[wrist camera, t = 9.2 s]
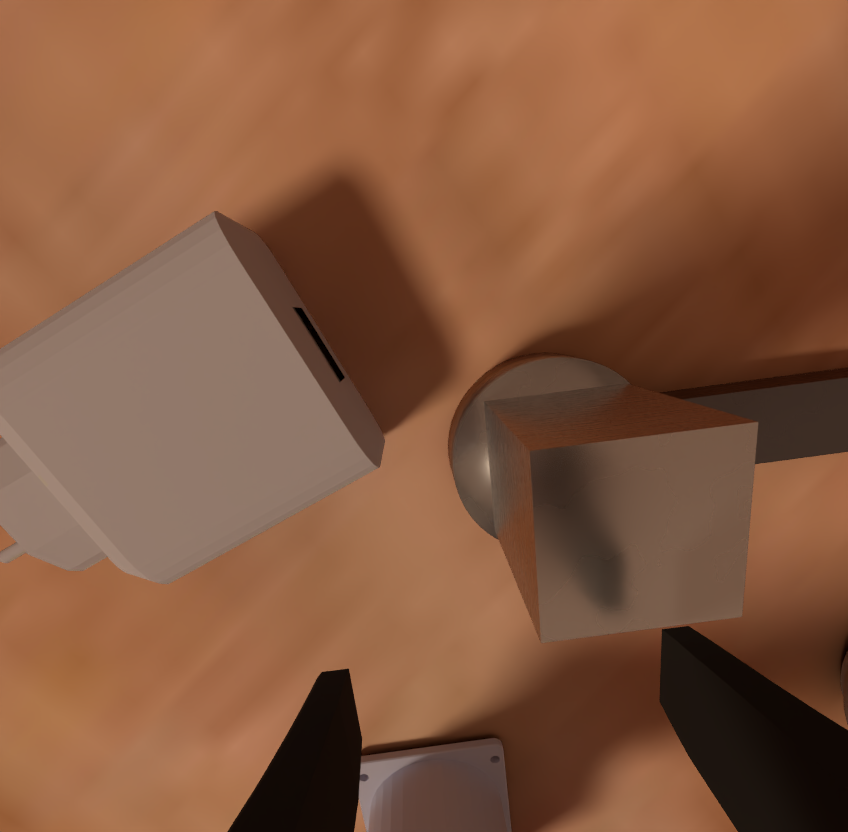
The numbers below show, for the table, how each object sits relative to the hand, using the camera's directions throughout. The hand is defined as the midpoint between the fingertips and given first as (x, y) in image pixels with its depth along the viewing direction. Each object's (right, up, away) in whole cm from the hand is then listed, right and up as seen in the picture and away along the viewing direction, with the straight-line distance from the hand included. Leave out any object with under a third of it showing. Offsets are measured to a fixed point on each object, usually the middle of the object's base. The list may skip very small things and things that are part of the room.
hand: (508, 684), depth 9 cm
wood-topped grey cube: (+3, +4, +7) cm, 9 cm away
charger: (-12, +6, +8) cm, 16 cm away
